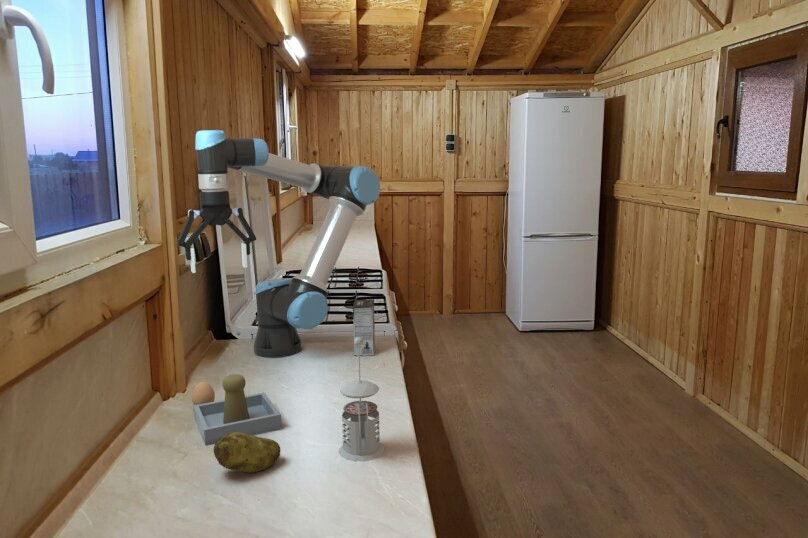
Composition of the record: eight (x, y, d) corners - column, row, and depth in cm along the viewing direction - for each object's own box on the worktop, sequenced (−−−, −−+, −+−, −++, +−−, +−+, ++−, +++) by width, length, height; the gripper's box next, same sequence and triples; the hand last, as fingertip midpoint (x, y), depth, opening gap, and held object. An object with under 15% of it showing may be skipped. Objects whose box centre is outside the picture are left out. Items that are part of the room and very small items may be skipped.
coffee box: (355, 347, 200) (354, 299, 197) (375, 346, 200) (374, 299, 197) (353, 356, 191) (352, 306, 188) (374, 356, 191) (373, 306, 188)
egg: (209, 402, 157) (207, 376, 156) (219, 408, 153) (217, 382, 152) (189, 409, 153) (186, 382, 152) (199, 415, 149) (197, 388, 148)
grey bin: (265, 405, 155) (264, 392, 154) (281, 428, 142) (280, 414, 141) (194, 419, 147) (193, 405, 147) (205, 445, 134) (204, 430, 133)
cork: (253, 415, 147) (250, 371, 145) (245, 426, 141) (242, 381, 139) (228, 415, 147) (225, 371, 145) (219, 426, 142) (215, 380, 140)
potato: (282, 475, 121) (280, 437, 120) (214, 484, 118) (211, 445, 117) (280, 455, 129) (278, 419, 128) (216, 463, 126) (214, 427, 125)
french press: (381, 437, 137) (379, 329, 132) (389, 463, 125) (386, 345, 121) (336, 441, 135) (333, 332, 130) (340, 467, 124) (336, 348, 119)
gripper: (165, 193, 153) (172, 276, 157) (264, 189, 164) (268, 267, 168) (162, 191, 160) (168, 271, 164) (257, 187, 171) (262, 263, 175)
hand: (219, 269), depth 166 cm, fingers open, 13 cm apart
